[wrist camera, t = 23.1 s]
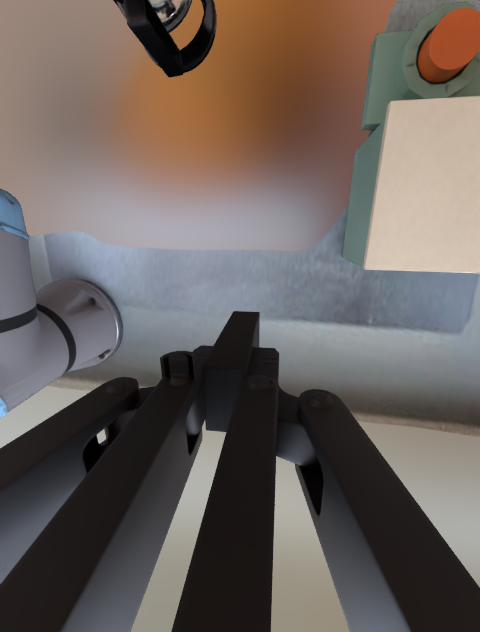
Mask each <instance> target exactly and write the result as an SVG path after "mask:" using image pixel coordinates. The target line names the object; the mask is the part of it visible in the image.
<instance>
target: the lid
mask: <svg viewBox="0 0 480 632" xmlns="http://www.w3.org/2000/svg"><path fill="white" fill-rule="evenodd" d="M363 268H364V269H368V270H398V271H428V272H458V273H480V96H468V97H450V98H433V99H415V100H397V101H390V103H389V104H388V105H387V112H386V118H385V125H384V132H383V138H382V145H381V151H380V158H379V165H378V171H377V178H376V184H375V191H374V197H373V204H372V211H371V217H370V224H369V230H368V237H367V244H366V250H365V257H364V263H363Z"/></svg>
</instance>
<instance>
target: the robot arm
mask: <svg viewBox="0 0 480 632" xmlns="http://www.w3.org/2000/svg"><path fill="white" fill-rule="evenodd" d="M28 240H30V239H29V235H28V234H27V232H26V227H25V223H24V218H23V213H22V208H21V205H20V203H19V202H18V201H17V199H16V198H15V197H13V196H12V195H11V194H10V193H8V192H7V191H4V190H2V189H0V418H1V417H3V416H4V415H5V414H6V413H7V412H9V411H10V410H12V409H13V408H15V407H16V406H18V405H19V404H21V403H22V402H24V401H25V400H27V399H28V398H30V397H31V396H33V395H34V394H35V393H37V392H38V391H40V390H41V389H43V388H44V387H46V386H47V385H49V384H50V383H52V382H53V381H55V380H56V379H58V378H59V377H60V376H62V375H64V374H65V373H67V372H69V371H73V370H77V369H81V368H85V367H89V366H93V365H96V364H98V363H101V362H103V361H104V360H106V359H107V358H109V357H110V356H111V355H113V354H114V353H115V351H116V350H117V349H118V347H119V345H120V343H121V339H122V322H121V318H120V315H119V312H118V310H117V308H116V306H115V304H114V303H113V302H112V300H111V299H110V298H109V296H108V295H107V294H106V293H105V292H104V291H102V290H101V289H100V288H99V287H97V286H95V285H94V284H92V283H90V282H87V281H85V280H81V279H75V278H69V279H63V280H59V281H55V282H53V283H51V284H48V285H46V286H45V287H43V288H42V289H41V290H39V291H38V292H37V293H35V290H34V283H33V276H32V269H31V262H30V253H29V245H28ZM160 362H161V370H162V380H161V381H160V382H159V383H158V385H157V386H155V387H148V388H140V389H139V384H138V382H137V380H136V379H133V378H129V377H122V378H121V377H120V378H116V379H113V380H110V381H108V382H106V383H104V384H102V385H101V386H99V387H98V388H96V389H94V390H93V391H91V392H90V393H88V394H87V395H85V396H83V397H82V398H80V399H79V400H77V401H75V402H74V403H72V404H71V405H69V406H67V407H66V408H64V409H63V410H61V411H59V412H58V413H56V414H55V415H53V416H51V417H50V418H48V419H47V420H45V421H43V422H42V423H40V424H39V425H37V426H36V427H34V428H32V429H31V430H29V431H28V432H26V433H24V434H23V435H21V436H20V437H18V438H16V439H15V440H13V441H12V442H10V443H8V444H7V445H5V446H4V447H2V448H0V632H131V629H132V626H133V623H134V621H135V618H136V615H137V613H138V610H139V607H140V605H141V602H142V599H143V597H144V594H145V591H146V589H147V586H148V583H149V581H150V578H151V575H152V573H153V570H154V567H155V564H156V562H157V559H158V557H159V554H160V551H161V549H162V546H163V543H164V541H165V538H166V535H167V532H168V530H169V527H170V524H171V522H172V519H173V516H174V514H175V511H176V508H177V506H178V503H179V500H180V498H181V495H182V492H183V490H184V487H185V483H186V482H187V479H188V476H189V473H190V471H191V468H192V466H193V463H194V460H195V458H196V455H197V452H198V449H199V447H200V444H201V441H202V425H203V423H204V421H206V430H210V431H220V432H221V431H222V432H226V436H225V440H224V444H223V447H222V451H221V454H220V458H219V461H218V465H217V469H216V473H215V476H214V480H213V483H212V487H211V490H210V494H209V498H208V501H207V505H206V509H205V512H204V516H203V519H202V523H201V527H200V530H199V534H198V537H197V541H196V545H195V548H194V552H193V555H192V559H191V563H190V566H189V570H188V574H187V577H186V581H185V584H184V588H183V592H182V595H181V599H180V603H179V606H178V610H177V613H176V617H175V621H174V624H173V628H172V632H271V603H272V570H273V537H274V506H275V503H274V502H275V474H276V456H278V457H280V458H282V459H285V460H288V461H290V462H293V463H295V468H296V472H297V475H298V478H299V481H300V484H301V487H302V490H303V492H304V496H305V499H306V502H307V505H308V508H309V510H310V514H311V517H312V519H313V523H314V526H315V529H316V532H317V535H318V538H319V541H320V544H321V547H322V549H323V552H324V555H325V558H326V561H327V564H328V567H329V570H330V573H331V576H332V579H333V582H334V585H335V588H336V591H337V594H338V597H339V600H340V603H341V606H342V609H343V612H344V615H345V618H346V621H347V624H348V627H349V630H350V632H480V588H479V587H478V585H477V583H476V582H475V581H474V579H473V578H472V577H471V576H470V574H469V573H468V571H467V570H466V569H465V567H464V566H463V565H462V563H461V562H460V561H459V559H458V558H457V556H456V555H455V554H454V552H453V551H452V550H451V548H450V547H449V546H448V544H447V543H446V541H445V540H444V539H443V537H442V536H441V535H440V533H439V532H438V531H437V529H436V528H435V527H434V525H433V524H432V523H431V521H430V520H429V518H428V517H427V516H426V514H425V513H424V512H423V510H422V509H421V508H420V506H419V505H418V503H417V502H416V501H415V499H414V498H413V497H412V495H411V494H410V493H409V492H408V490H407V488H406V487H405V486H404V485H403V483H402V482H401V480H400V479H399V478H398V476H397V475H396V474H395V472H394V471H393V469H392V468H391V467H390V465H389V464H388V463H387V461H386V460H385V459H384V457H383V456H382V455H381V453H380V452H379V450H378V449H377V448H376V446H375V445H374V444H373V442H372V441H371V440H370V438H369V437H368V436H367V434H366V433H365V431H364V430H363V429H362V427H361V426H360V425H359V423H358V422H357V421H356V419H355V418H354V417H353V415H352V414H351V412H350V411H349V410H348V408H347V407H346V406H345V404H344V403H343V402H342V400H341V399H340V398H339V397H338V396H336V395H335V394H333V393H331V392H328V391H325V390H320V389H319V390H318V389H312V390H307V391H305V392H303V393H301V395H300V397H299V398H298V397H295V396H292V395H289V394H287V393H286V392H284V391H283V390H282V389H281V388H280V387H279V384H278V372H279V353H278V352H277V350H276V349H275V348H259V312H239V311H234V312H233V313H232V315H231V317H230V318H229V320H228V322H227V324H226V325H225V327H224V329H223V331H222V332H221V334H220V336H219V337H218V339H217V341H216V343H215V344H214V346H200V347H198V348H197V349H195V350H194V351H193V352H188V351H175V352H170V353H168V354H165V355H163V356H162V357H161V358H160ZM103 429H105V434H106V440H105V441H104V442H102V443H100V444H99V443H98V440H97V434H98V433H99V432H100V431H102V430H103Z"/></svg>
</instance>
